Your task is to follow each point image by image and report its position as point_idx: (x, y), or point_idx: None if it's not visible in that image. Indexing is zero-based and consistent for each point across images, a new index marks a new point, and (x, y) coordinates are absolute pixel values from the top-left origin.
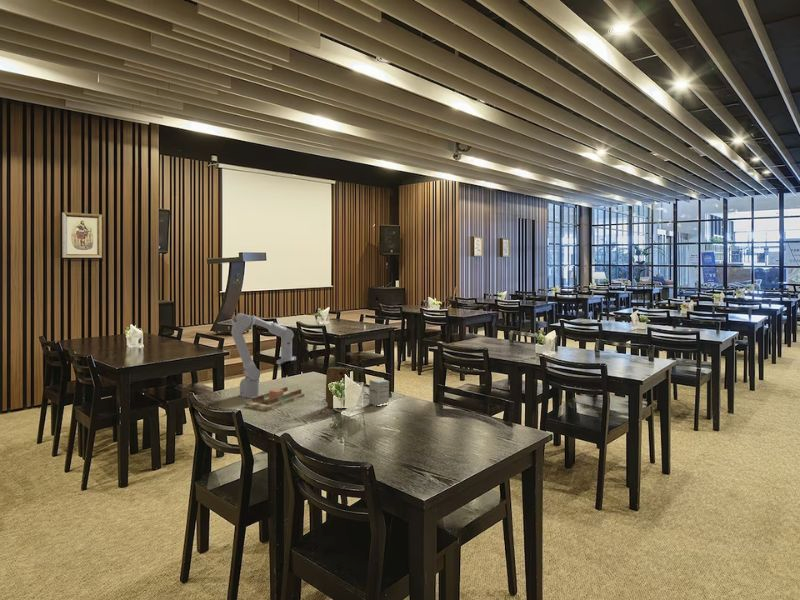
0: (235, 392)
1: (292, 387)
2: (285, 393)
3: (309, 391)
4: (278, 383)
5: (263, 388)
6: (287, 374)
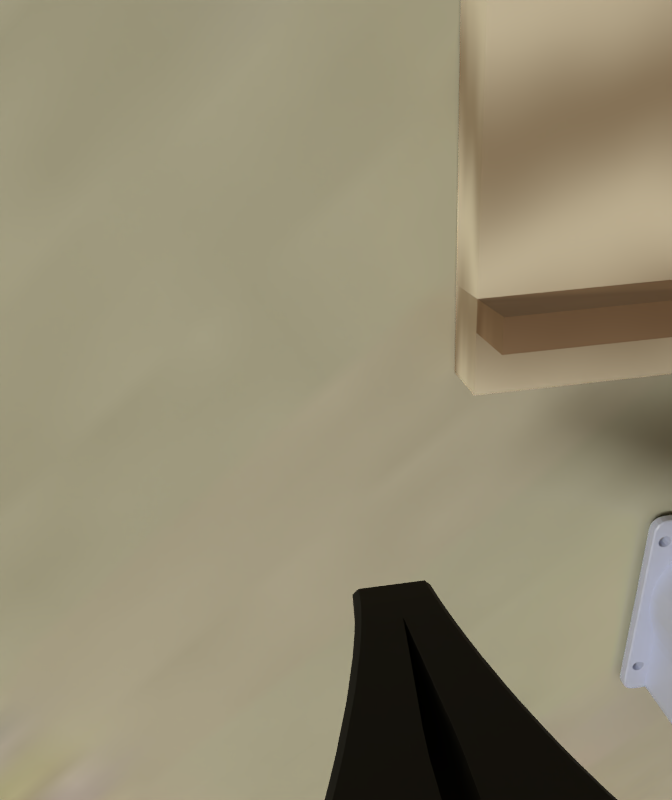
0: (639, 766)
1: (64, 533)
2: (647, 200)
3: (16, 107)
4: (64, 770)
5: None
6: (431, 598)
